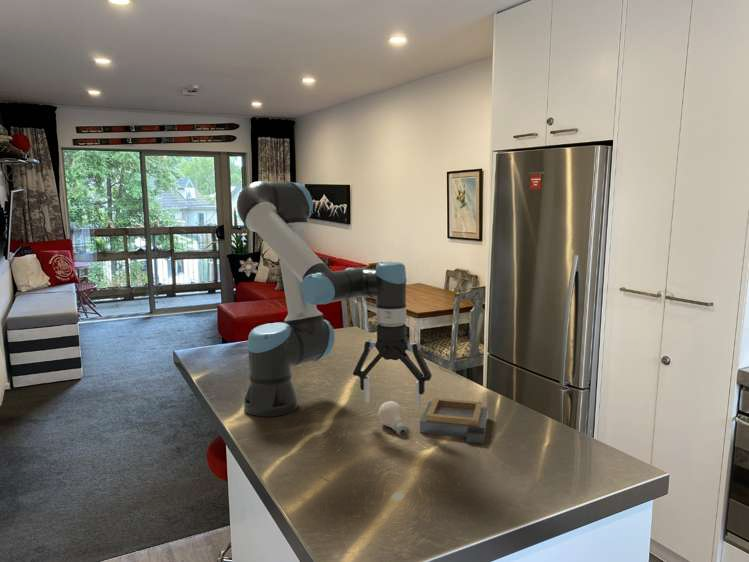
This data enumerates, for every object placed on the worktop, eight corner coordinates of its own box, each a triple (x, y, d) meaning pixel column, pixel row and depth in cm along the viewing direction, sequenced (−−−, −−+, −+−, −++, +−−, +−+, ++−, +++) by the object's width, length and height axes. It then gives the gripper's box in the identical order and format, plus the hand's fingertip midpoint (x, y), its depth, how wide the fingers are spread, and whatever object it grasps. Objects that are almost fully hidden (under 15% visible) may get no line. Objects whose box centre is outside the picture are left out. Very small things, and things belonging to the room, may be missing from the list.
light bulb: (414, 418, 138) (396, 392, 147) (390, 426, 136) (373, 400, 145) (415, 438, 141) (397, 412, 150) (391, 446, 139) (375, 419, 148)
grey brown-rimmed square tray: (417, 437, 137) (417, 419, 137) (431, 407, 158) (431, 391, 157) (482, 444, 133) (483, 426, 133) (488, 412, 153) (489, 397, 153)
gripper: (340, 324, 140) (341, 404, 143) (438, 328, 133) (438, 413, 136) (349, 318, 147) (350, 395, 150) (442, 322, 141) (442, 402, 143)
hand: (392, 404), depth 143 cm, fingers open, 13 cm apart
